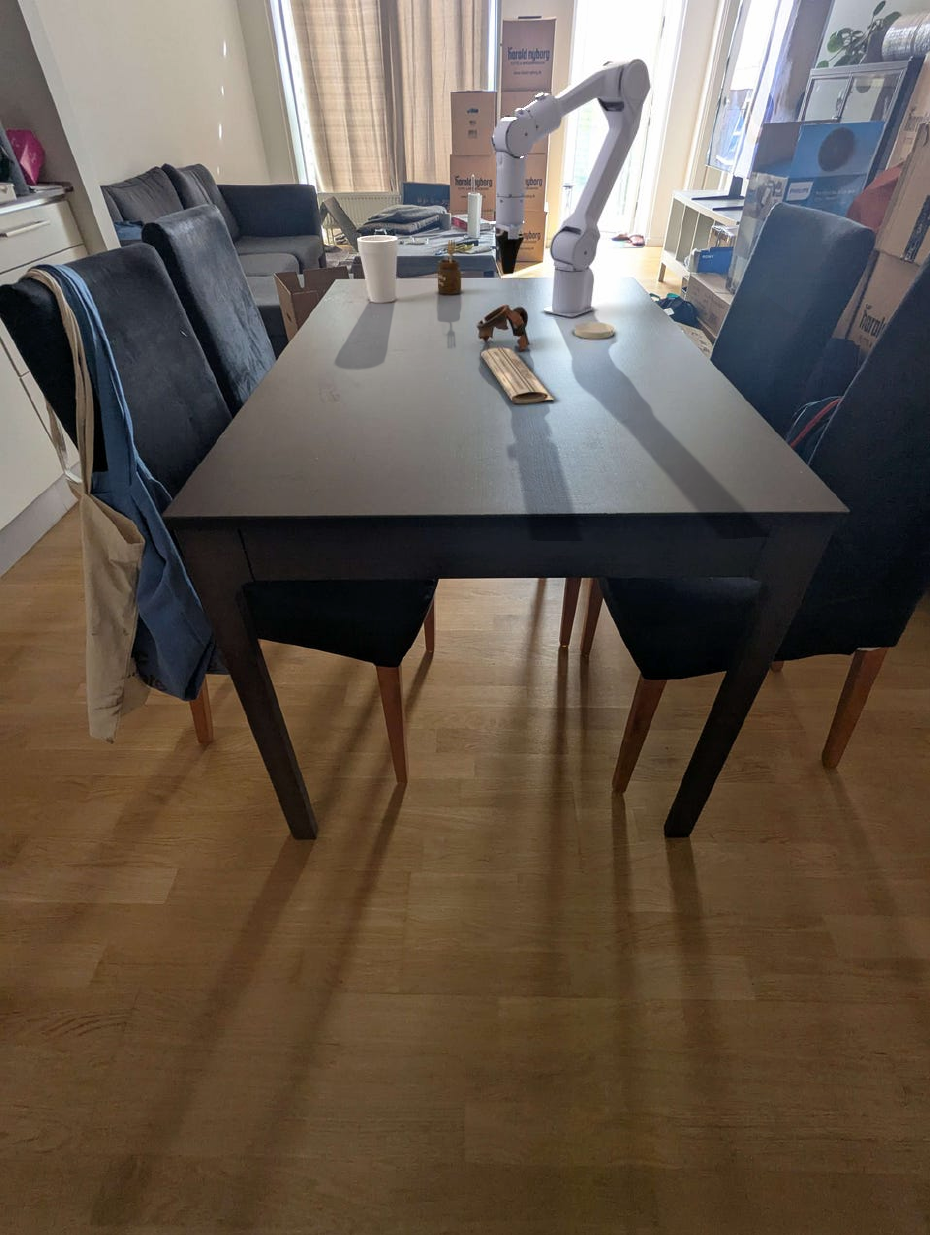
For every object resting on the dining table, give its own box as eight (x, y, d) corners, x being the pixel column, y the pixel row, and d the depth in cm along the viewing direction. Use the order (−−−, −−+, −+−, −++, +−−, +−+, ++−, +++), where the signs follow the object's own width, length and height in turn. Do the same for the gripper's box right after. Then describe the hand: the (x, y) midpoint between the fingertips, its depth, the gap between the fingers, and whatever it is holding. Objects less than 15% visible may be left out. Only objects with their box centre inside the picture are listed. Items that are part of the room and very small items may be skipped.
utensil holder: (457, 288, 160) (456, 235, 152) (464, 294, 155) (463, 239, 147) (435, 290, 159) (433, 236, 151) (441, 296, 154) (439, 240, 146)
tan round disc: (587, 325, 132) (588, 319, 131) (620, 332, 128) (621, 326, 127) (566, 334, 127) (567, 328, 127) (599, 341, 123) (600, 335, 123)
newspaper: (481, 358, 116) (481, 348, 115) (517, 356, 117) (518, 346, 116) (511, 404, 98) (512, 393, 97) (554, 400, 99) (554, 389, 98)
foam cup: (409, 298, 153) (405, 237, 144) (386, 306, 147) (380, 243, 138) (379, 293, 157) (373, 234, 148) (355, 301, 151) (348, 239, 142)
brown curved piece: (518, 358, 117) (497, 318, 113) (484, 371, 124) (463, 334, 120) (548, 327, 122) (528, 287, 118) (513, 341, 129) (494, 304, 125)
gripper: (486, 192, 126) (486, 266, 135) (493, 200, 115) (492, 281, 124) (520, 191, 127) (517, 266, 135) (531, 199, 115) (527, 280, 124)
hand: (507, 273), depth 130 cm, fingers closed
